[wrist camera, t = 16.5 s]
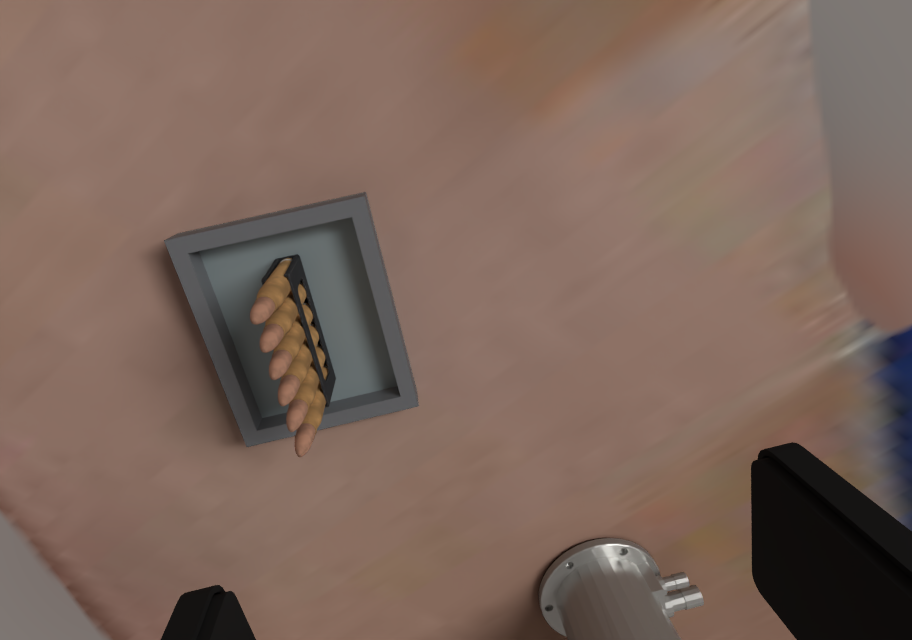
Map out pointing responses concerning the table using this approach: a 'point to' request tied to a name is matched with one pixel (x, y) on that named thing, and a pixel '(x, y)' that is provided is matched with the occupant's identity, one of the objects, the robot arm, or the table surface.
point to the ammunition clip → (294, 347)
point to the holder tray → (336, 302)
